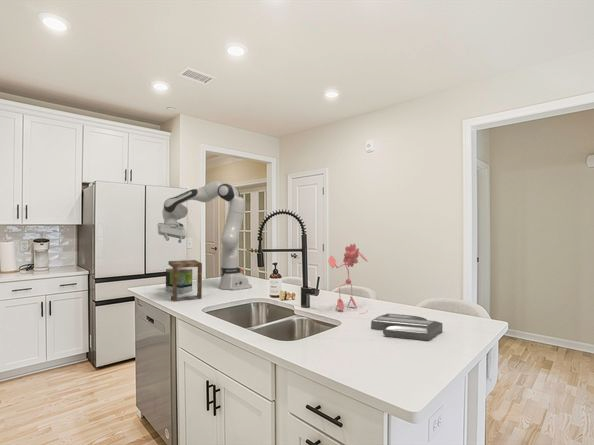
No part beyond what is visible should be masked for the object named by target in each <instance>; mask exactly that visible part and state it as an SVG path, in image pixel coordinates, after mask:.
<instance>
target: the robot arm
mask: <svg viewBox="0 0 594 445" xmlns="http://www.w3.org/2000/svg"><path fill="white" fill-rule="evenodd" d="M217 197H220V198H221V199H222V200H224V201H226V202H228V204H229V206H228V210H227V214H226V219H225V223H224V227H223V230H222V233H221V238H220V240H221V245H222V249H221V250H222V252H221V267H220V282H219V286H218V289H219V290H220V289H221V290H230V291H236V290H237V291H238V290H244V289H251V288H252V287H253V286H252V284H249V279H248V277H247V276H246V275H245V274H244V273H242V271H243V270H244V269H243V267H239V236H240V232H241V228H242V225H243V224H242V223H243V222H244V221H243V220H244V216H245V211H246V199H244V198H243V197H241V194H240V191H239V189H238V188H236V187H235V186H234V185H231V184H230V183H229V184H228V183H222V182H221V181H220V180H213V181H210V182H208V183H207V184H205V185H203V186H201V187H198V188H193V189H190V190H187V191H185V192H183V193H180V194H179V195H178V194H177V195H175V196H173V197H169V198H167V199H166V200H164V203H163V208H162V219H163V222H158V223H157V233H158V235H160V236H163V237H164V239H165V241H169V240H170V238H175V239H178V240H177V243H178V244H181V243H182V240H185V239H186V237H187V232H186V228H185V225H184V224H182V223H180V222H179V221H178V220H181V219H183V218H185V217H186V216H187V215H188V213H189V212H188V207H187V206H185V205H184V203H185V202H187V201H198V202H201V203H208V202H211V201H212V200H215V198H217Z"/></svg>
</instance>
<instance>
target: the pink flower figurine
mask: <svg viewBox="0 0 594 445" xmlns="http://www.w3.org/2000/svg"><path fill="white" fill-rule="evenodd" d="M344 249H345V252H344V254H343V256H344V257H343V260H342V262H343V264H341V265H339V266H337V262H336V259H335V256H332V255H330V256H329V258H328V264H329V265H330V267H331V268H332V269H334V268H335V267H336V269H338V268H340V267H342V266H345V268H346V270H347V277H348V278H347V279H346V280H345V283H344V284H342V285H340V286H339V287H338V289H339V290H338V291H339V296H341V288H342V287H343V286H345V285H351V286H350V287H351V288H350V290H351V294H353V285H352V280H351V279H350V271H349V267H351V268H353V267H354V264H358V262H359V260H358V258H359V256H360V258H362V259H363V260H364V261H365V262H369V261H368V260H367V259H366V257H365V256H364V255H363V254H362V253H361V252H360V248H359V247H357V245H356V243H353V244H352V243H350V244H349V246H348V245H346V246H345V247H344ZM349 298H350V299H349V302H348V303H347V305H346V306H347V307H348V308H349V306H350V304H351V302H352V304H353V306H354V307H355V308H358V306H357V303H356V300H354V298H353V296H352V295H351V296H349ZM344 308H345V304H344V301H343V300H342V299H341V298H338V299H337V305H336V307H335V310H337V309H339V310H340V311H341V312H343V311H344ZM327 311H329V309H327ZM365 313H367V311H365V312H362V313H360V315H361V314H362V315H363V314H365Z"/></svg>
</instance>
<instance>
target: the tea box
mask: <svg viewBox="0 0 594 445" xmlns="http://www.w3.org/2000/svg"><path fill="white" fill-rule="evenodd" d="M165 291H167V292H170V293H173V267H171V268H166V269H165ZM192 291H193V268H187V267H186V268H177V294H184V293H189V292H192Z"/></svg>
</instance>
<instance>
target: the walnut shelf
mask: <svg viewBox="0 0 594 445" xmlns="http://www.w3.org/2000/svg"><path fill="white" fill-rule="evenodd" d="M167 263H168V266H170V267H171V268H173V292H171V294H172V295H170V300H171V301H172V303H173V302H181V301H192V300H194V301H195V300H201V299H202V292H203V291H202V290H203V289H202V287H203V282H202V280H203V277H202V275H203V263H202V262H200V261H198V260H196V259H189V260H183V259H182V260H168V262H167ZM177 268H186V269H187V268H197V282H196V283H197V284H196V285H197V287H196V288H197V289H196V291H197V292H196V295H187V296H178V295H177V294H178V293H177Z"/></svg>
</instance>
